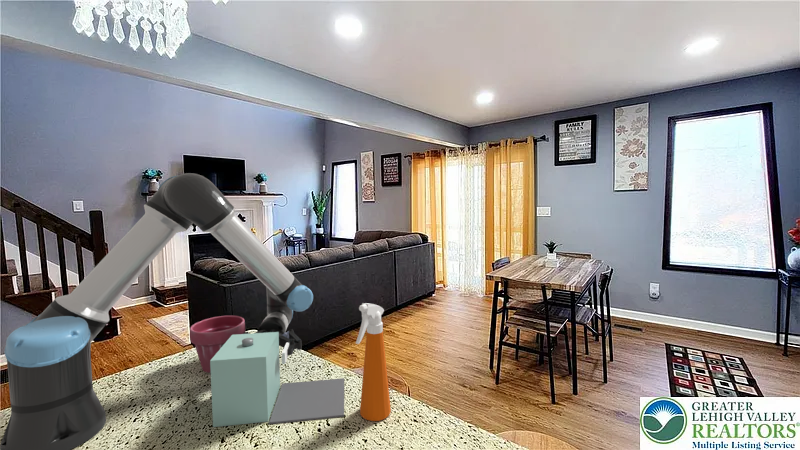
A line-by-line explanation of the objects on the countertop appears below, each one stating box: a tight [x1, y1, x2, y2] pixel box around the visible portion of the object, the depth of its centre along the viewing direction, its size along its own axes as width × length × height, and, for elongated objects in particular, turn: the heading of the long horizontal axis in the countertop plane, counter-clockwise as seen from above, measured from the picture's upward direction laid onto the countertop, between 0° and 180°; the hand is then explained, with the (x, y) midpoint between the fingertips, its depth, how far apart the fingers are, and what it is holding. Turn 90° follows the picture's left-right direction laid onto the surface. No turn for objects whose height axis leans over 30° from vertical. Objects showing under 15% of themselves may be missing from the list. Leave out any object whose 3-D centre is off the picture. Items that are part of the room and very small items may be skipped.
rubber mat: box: [268, 378, 345, 425], centre depth 83 cm, size 16×16×1 cm
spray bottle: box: [355, 302, 392, 422], centre depth 75 cm, size 7×11×26 cm, turn 154°
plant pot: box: [189, 315, 246, 374], centre depth 99 cm, size 14×14×13 cm
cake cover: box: [210, 332, 281, 428], centre depth 80 cm, size 11×14×16 cm
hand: (254, 360), depth 83 cm, fingers open, 13 cm apart
